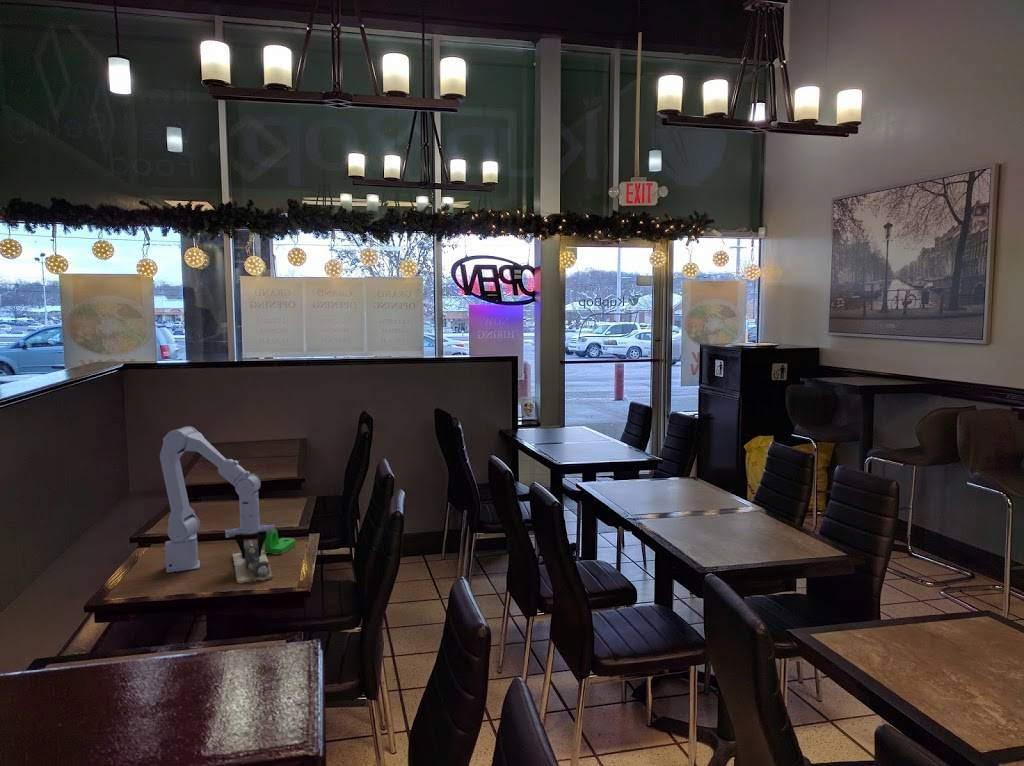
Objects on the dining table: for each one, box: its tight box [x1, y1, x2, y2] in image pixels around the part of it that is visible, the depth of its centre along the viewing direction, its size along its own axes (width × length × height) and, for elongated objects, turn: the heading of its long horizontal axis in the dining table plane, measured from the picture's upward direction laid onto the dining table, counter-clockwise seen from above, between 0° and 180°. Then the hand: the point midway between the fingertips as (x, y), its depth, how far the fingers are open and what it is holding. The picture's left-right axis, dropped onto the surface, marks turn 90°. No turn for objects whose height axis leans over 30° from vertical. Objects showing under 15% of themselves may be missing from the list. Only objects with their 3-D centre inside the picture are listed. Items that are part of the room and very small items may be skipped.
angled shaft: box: [248, 561, 270, 577], centre depth 224 cm, size 8×4×4 cm, turn 43°
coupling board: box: [232, 549, 274, 584], centre depth 233 cm, size 10×28×1 cm, turn 23°
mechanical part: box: [263, 528, 296, 554], centre depth 251 cm, size 12×6×8 cm, turn 170°
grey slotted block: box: [244, 539, 259, 568], centre depth 232 cm, size 4×9×6 cm, turn 23°
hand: (251, 556), depth 233 cm, fingers closed on grey slotted block, 4 cm apart
